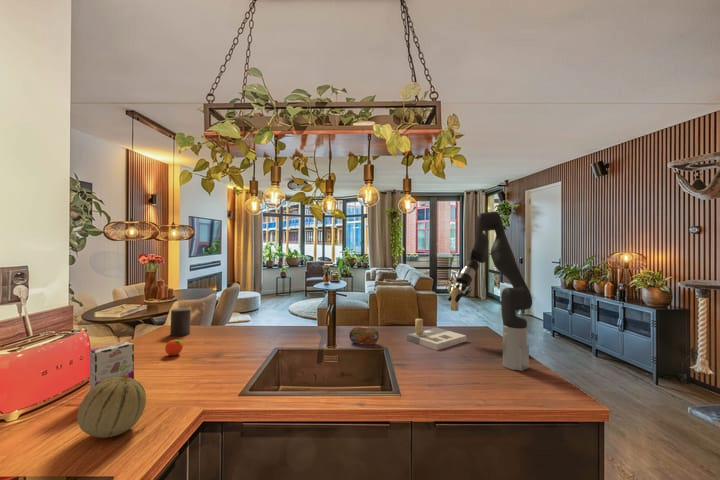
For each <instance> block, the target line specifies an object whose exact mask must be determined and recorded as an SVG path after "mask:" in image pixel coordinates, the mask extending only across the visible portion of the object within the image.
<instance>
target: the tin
mask: <svg viewBox="0 0 720 480" xmlns="http://www.w3.org/2000/svg"><path fill="white" fill-rule="evenodd" d="M348 336H349V339H350V341H351V342H352V343H353V344H355V343H363V344H362V345H367V344H370V345H371V346H372V345H375V344H376V343H377V342H378V341H379V337H380V335H379V332H378V330H377V329H376V328H375V327H367V326H356V327H353V328H352V329H351V330H350V331H349V335H348Z"/></svg>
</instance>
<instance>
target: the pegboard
mask: <svg viewBox="0 0 720 480" xmlns="http://www.w3.org/2000/svg"><path fill="white" fill-rule="evenodd" d="M414 321H415V322H414V323H415V325H414V327H415V330H414V331H415V332H412V333H407V334H406V341H409V342H412V343H415V344H418V345H421V346H424V347H426V348H430V349H432V350H435V351H440V350H442V349H446V348H449V347H452V346H455V345H458V344H462V343H465V342H467V335H465V334H462V333H457V332H454V331H450V330H447V329H443V328H439V327H432V328H428V329H424V319H423V318H415V320H414Z"/></svg>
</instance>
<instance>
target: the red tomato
mask: <svg viewBox="0 0 720 480" xmlns="http://www.w3.org/2000/svg"><path fill="white" fill-rule="evenodd" d="M183 343H184V342H182V341H181V340H180V339H172V340H169V341H168V342H167V343H166V344H165V346H164V347H165V349H164V350H165V352H166V354H167V355H169V356H177V355H179V354H180V353H181V352H182V350H183V348H184V344H183Z"/></svg>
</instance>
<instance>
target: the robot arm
mask: <svg viewBox="0 0 720 480" xmlns="http://www.w3.org/2000/svg"><path fill="white" fill-rule="evenodd" d="M489 231H490V232H491V231H494V232H495V239H494V241H493V244H492V246H491V249H490V256H491V259H492V262H493V265H494V267H495V269H496V270H497V271H498V272H500V273H501V274H502V275H503V276H504V277H505V278H506V279H507V280H508V281H509V283H510V284H511V286H512V287H505V288H503V289H502V291H501V294H500V300H501V301H500V304H501V318H502V366H503V368H507V369H509V370H513V371H520V372H524V371H525V370H527V369H529V368H530V345H529V344H528V321H527V320H526V319H525V318H523V317H520V316H517V313H516V311H518V310H519V311H520V310H521V311H523V310H524V311H525V310H530V309H531V308H532V305H533V297H532V294H531V292H530V290H529V287H528V285H527V284H526V282H525V280H524V278H523V276H522V274H521V271H520V269H519V266H518V264H517V261H516V258H515V255H514V252H513V250H512V248H511V246H510V243H509V240H508V237H507V235H506V232H505V228H504V224H503V221H502V218H501V216H500V213H499V212H497V211H488V212H480V213H478V214H477V216H476V218H475V239H474V245H473V247H472V248H470V249H469V251H468V256H467V260H466V263H465V264H464V266H463V268H462V269H461V271H459V274H458V275H457V277H456V279H455V282H454V283H453V284H452V283H449V284H448V287H447V293H448V294H449V295H447V300H448V302H451V287H458V288H459V293H458V294H459V295H457V296H456V298H455V301H456V302H460V300H461V299H462V298H463V297H464V298H466V296H467V295H469V294H470V293H471V291H472V290H473V289H472V288H471V286H470V285H471V283H472V281H474V277H475V275H476V273H477V272H478V269H479V268H480V265H479V263H480V264H484V263H486V262H487V260H488V257H489V253H488V246H489V243H490V242H489V238H488V236H487V235H486V234H485V233H484V232H489Z"/></svg>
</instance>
